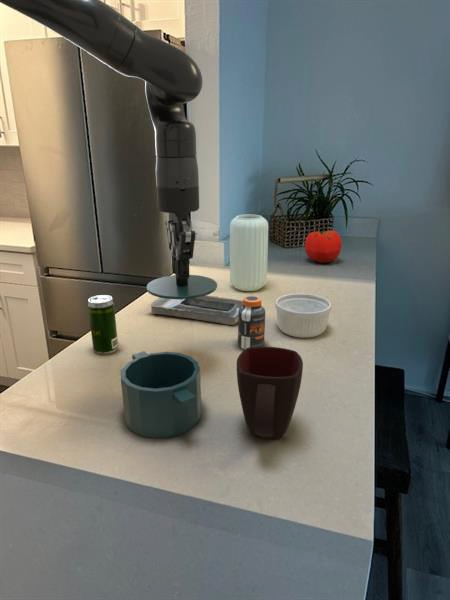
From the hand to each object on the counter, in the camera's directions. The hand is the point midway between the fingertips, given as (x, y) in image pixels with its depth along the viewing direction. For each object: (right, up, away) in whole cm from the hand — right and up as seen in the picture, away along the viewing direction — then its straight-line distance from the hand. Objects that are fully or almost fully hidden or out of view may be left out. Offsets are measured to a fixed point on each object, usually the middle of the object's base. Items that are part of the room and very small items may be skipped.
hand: (181, 276), depth 83 cm
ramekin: (+27, -12, +22) cm, 37 cm away
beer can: (-18, -16, +13) cm, 27 cm away
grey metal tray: (+2, -8, +33) cm, 34 cm away
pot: (-2, -24, -10) cm, 26 cm away
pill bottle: (+14, -15, +14) cm, 25 cm away
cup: (+15, -26, -15) cm, 34 cm away
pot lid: (0, -2, +1) cm, 2 cm away
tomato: (+45, +10, +81) cm, 93 cm away
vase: (+16, -1, +53) cm, 55 cm away
